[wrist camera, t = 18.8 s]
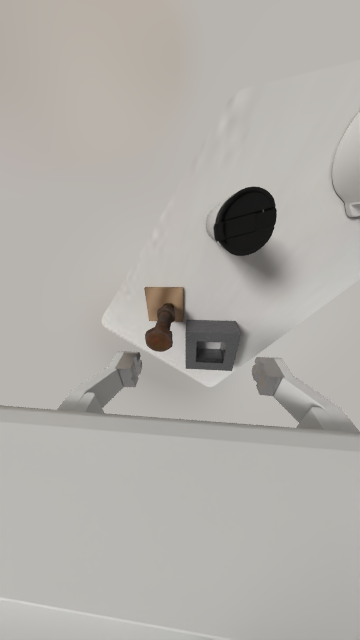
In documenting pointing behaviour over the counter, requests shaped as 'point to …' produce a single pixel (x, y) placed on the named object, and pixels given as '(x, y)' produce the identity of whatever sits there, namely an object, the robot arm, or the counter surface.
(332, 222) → the counter surface
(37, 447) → the robot arm
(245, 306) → the counter surface
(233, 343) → the socket block
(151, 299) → the walnut pad
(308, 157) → the counter surface
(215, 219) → the travel mug
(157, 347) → the bolt
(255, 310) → the counter surface
